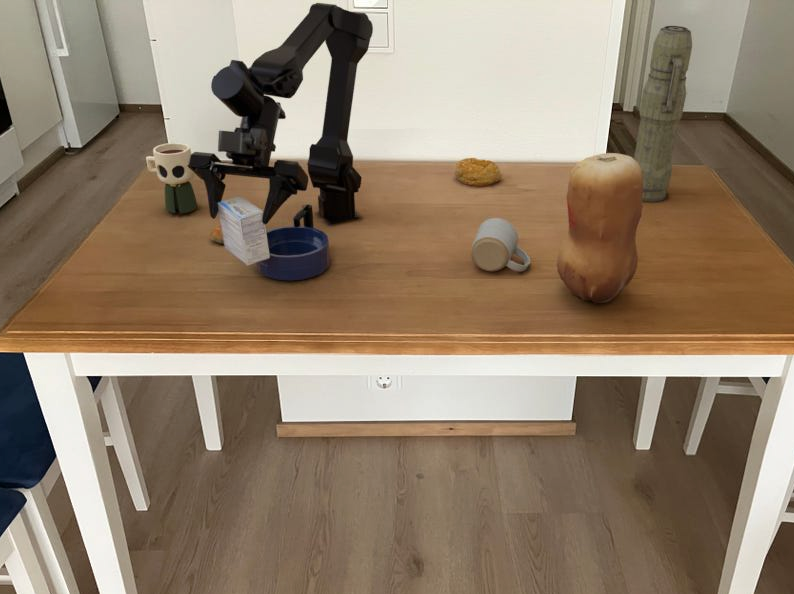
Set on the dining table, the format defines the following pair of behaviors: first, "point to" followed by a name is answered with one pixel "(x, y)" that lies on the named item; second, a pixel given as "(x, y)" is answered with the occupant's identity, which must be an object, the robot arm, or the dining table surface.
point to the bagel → (477, 172)
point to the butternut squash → (601, 226)
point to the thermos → (662, 109)
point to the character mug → (174, 175)
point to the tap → (304, 216)
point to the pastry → (217, 234)
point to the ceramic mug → (497, 246)
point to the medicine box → (243, 230)
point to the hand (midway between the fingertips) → (238, 220)
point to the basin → (295, 253)
